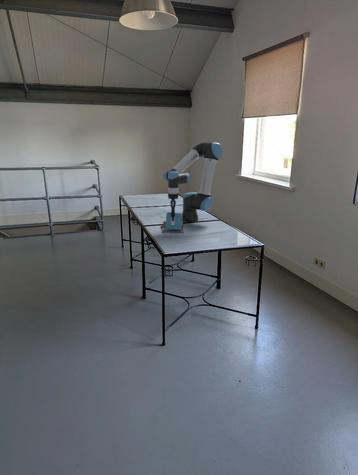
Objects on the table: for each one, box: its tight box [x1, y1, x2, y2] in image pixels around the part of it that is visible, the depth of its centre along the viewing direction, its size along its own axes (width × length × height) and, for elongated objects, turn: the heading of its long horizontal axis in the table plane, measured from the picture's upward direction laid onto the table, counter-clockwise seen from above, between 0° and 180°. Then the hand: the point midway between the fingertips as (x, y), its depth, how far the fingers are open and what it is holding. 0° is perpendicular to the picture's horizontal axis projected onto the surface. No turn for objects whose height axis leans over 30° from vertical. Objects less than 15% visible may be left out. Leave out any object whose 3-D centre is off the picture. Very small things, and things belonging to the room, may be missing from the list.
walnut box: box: [161, 220, 184, 229], centre depth 260 cm, size 9×16×3 cm, turn 91°
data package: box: [165, 211, 183, 230], centre depth 246 cm, size 12×4×12 cm, turn 91°
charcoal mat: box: [161, 227, 184, 234], centre depth 249 cm, size 11×16×1 cm
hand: (172, 223), depth 247 cm, fingers closed on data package, 4 cm apart
